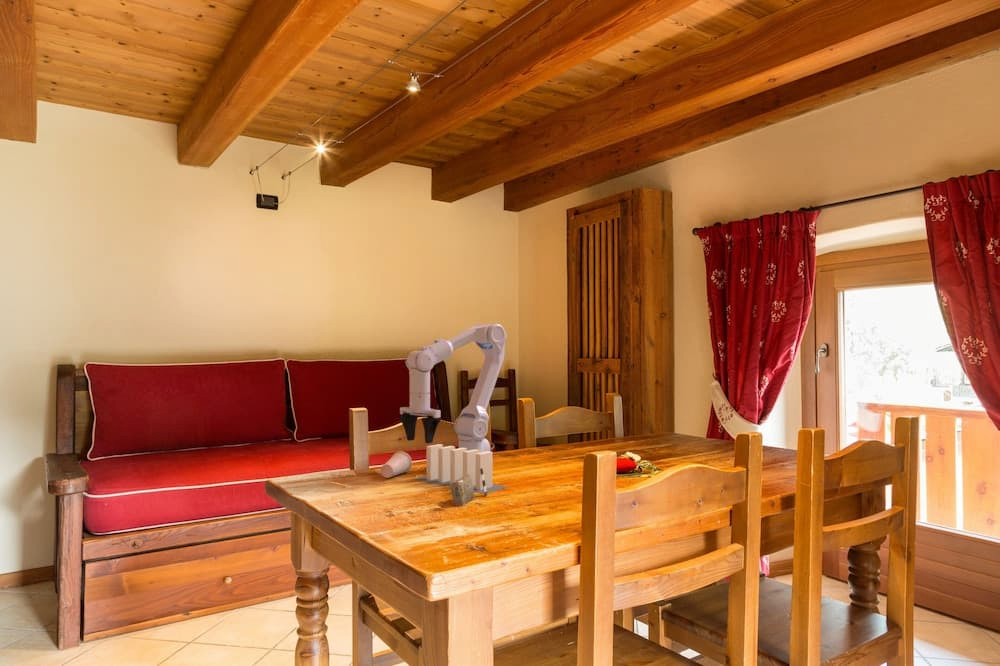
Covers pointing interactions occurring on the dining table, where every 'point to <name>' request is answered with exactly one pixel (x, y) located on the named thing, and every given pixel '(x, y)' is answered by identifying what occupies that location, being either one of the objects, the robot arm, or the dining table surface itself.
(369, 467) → the dining table surface
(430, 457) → the domino
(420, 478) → the runner mat
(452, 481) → the domino
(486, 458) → the domino
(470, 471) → the domino
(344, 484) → the dining table surface
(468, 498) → the cuneiform tablet
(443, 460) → the domino
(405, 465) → the smoothie
